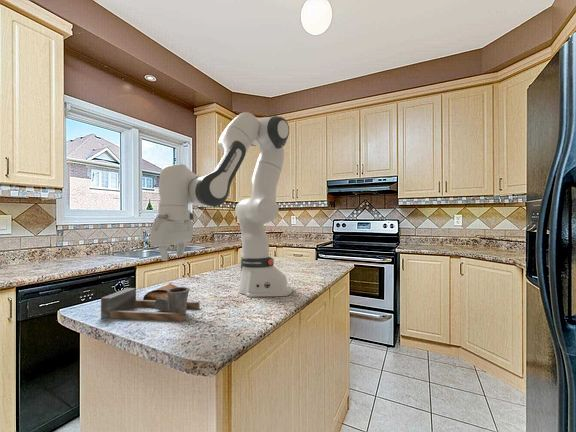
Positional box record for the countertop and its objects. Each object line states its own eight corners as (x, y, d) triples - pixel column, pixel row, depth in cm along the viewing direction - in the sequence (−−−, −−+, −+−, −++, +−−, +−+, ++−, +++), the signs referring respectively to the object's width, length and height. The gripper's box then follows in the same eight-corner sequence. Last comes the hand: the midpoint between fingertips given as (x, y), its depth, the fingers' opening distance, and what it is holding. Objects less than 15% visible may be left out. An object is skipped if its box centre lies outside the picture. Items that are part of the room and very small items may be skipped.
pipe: (164, 308, 97) (164, 284, 97) (194, 313, 92) (194, 288, 92) (149, 313, 91) (149, 288, 91) (181, 319, 87) (181, 292, 87)
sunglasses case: (165, 303, 101) (156, 287, 102) (149, 313, 102) (140, 296, 102) (188, 290, 119) (180, 276, 120) (174, 298, 120) (167, 284, 120)
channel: (199, 307, 97) (199, 290, 97) (182, 321, 85) (182, 300, 85) (127, 305, 100) (127, 287, 100) (100, 317, 88) (101, 298, 88)
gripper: (165, 214, 81) (165, 263, 81) (196, 215, 101) (195, 254, 101) (144, 214, 82) (143, 263, 81) (179, 215, 102) (178, 254, 102)
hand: (172, 258), depth 91 cm, fingers open, 8 cm apart
